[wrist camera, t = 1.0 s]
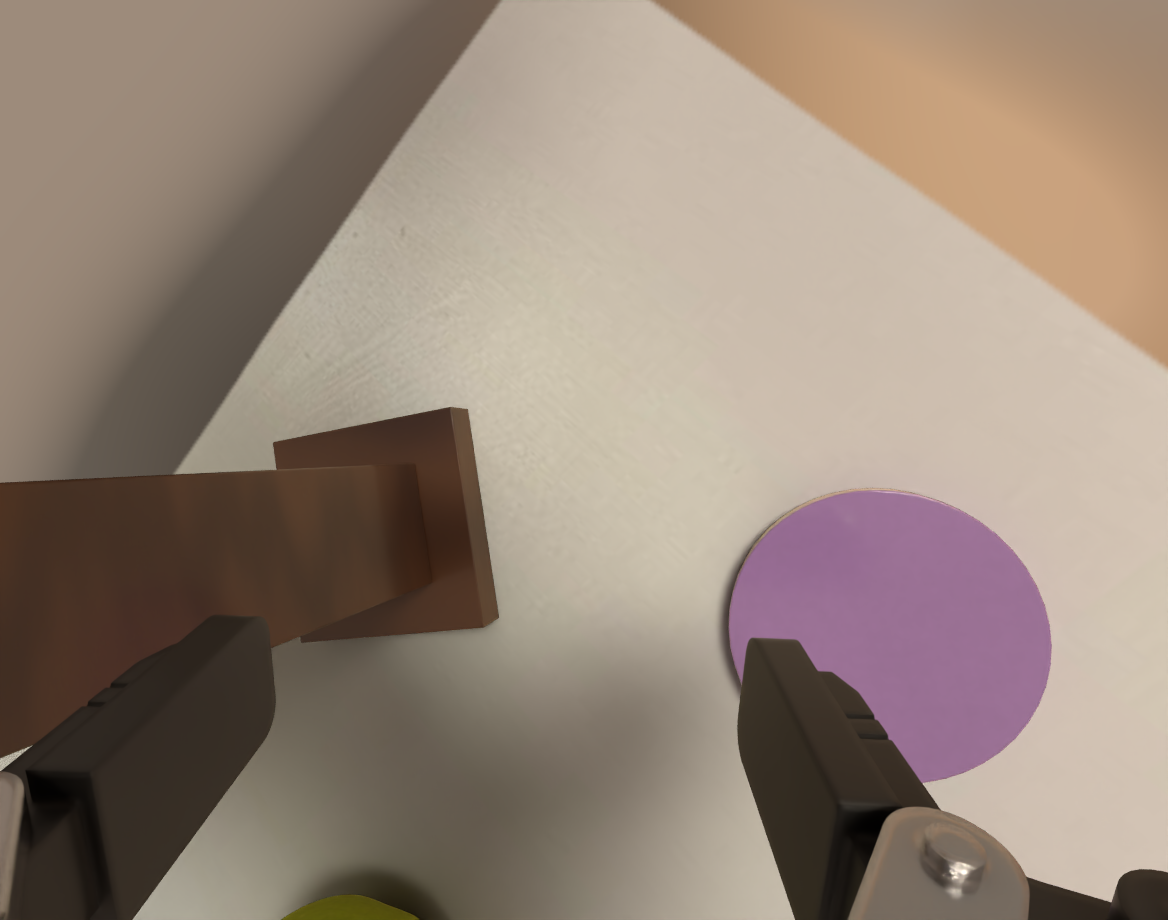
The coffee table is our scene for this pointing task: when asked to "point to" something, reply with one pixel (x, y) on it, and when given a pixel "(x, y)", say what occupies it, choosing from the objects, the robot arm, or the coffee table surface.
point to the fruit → (349, 910)
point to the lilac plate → (904, 619)
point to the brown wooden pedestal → (238, 558)
